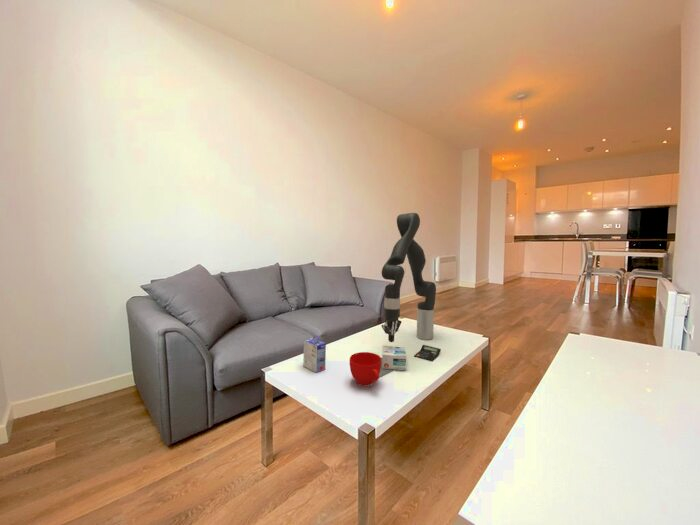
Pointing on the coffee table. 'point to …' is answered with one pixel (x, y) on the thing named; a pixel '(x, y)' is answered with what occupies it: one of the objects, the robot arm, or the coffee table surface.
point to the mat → (384, 370)
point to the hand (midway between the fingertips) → (391, 341)
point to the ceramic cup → (365, 367)
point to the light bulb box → (394, 358)
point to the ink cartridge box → (314, 354)
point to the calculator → (428, 353)
